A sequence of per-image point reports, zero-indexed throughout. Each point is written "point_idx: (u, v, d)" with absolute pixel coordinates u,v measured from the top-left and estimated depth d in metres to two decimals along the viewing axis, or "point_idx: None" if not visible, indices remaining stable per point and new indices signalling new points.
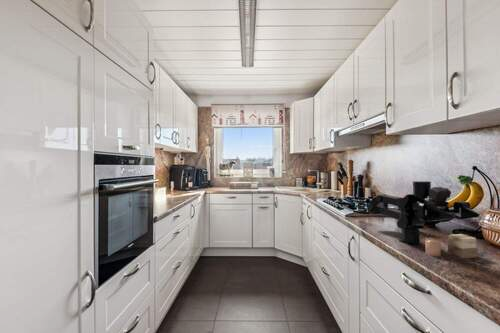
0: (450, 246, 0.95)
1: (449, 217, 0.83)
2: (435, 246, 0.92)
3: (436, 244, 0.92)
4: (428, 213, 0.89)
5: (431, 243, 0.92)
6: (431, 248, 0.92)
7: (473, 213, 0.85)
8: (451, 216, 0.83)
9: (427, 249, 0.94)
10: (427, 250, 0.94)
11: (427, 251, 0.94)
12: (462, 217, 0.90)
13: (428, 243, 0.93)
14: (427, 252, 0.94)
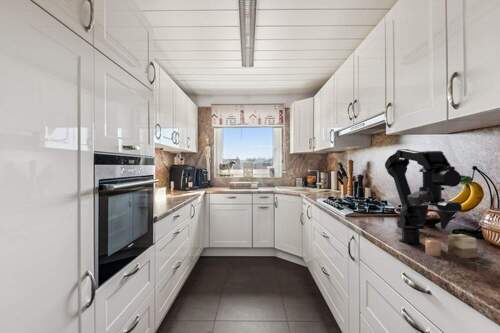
0: (450, 246, 0.95)
1: None
2: (435, 246, 0.92)
3: (436, 244, 0.92)
4: None
5: (431, 243, 0.92)
6: (431, 248, 0.92)
7: None
8: None
9: (427, 249, 0.94)
10: (427, 250, 0.94)
11: (427, 251, 0.94)
12: None
13: (428, 243, 0.93)
14: (427, 252, 0.94)
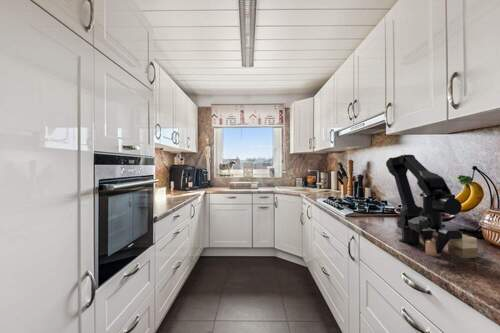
0: (450, 246, 0.94)
1: None
2: (435, 246, 0.92)
3: None
4: None
5: (431, 243, 0.92)
6: (431, 248, 0.93)
7: None
8: None
9: (427, 249, 0.94)
10: (427, 250, 0.94)
11: (427, 251, 0.94)
12: None
13: (428, 243, 0.93)
14: (427, 252, 0.94)
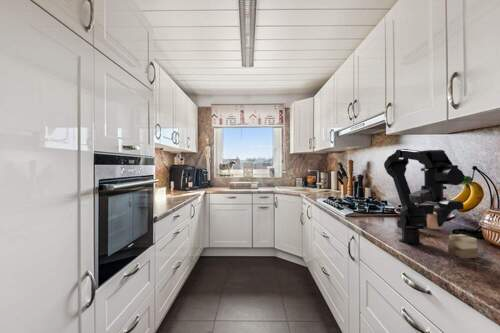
0: (450, 246, 0.94)
1: None
2: (436, 219, 0.92)
3: None
4: None
5: (432, 216, 0.92)
6: (432, 221, 0.92)
7: None
8: None
9: (428, 222, 0.94)
10: (428, 223, 0.94)
11: (428, 224, 0.94)
12: None
13: (429, 216, 0.93)
14: (428, 225, 0.94)
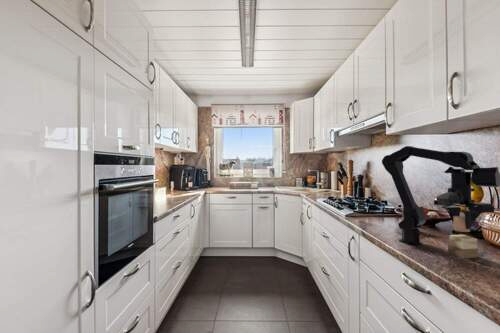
0: (450, 246, 0.94)
1: None
2: (464, 221, 0.91)
3: None
4: None
5: (460, 218, 0.91)
6: (460, 224, 0.92)
7: None
8: None
9: (456, 225, 0.93)
10: (456, 226, 0.93)
11: (456, 227, 0.93)
12: None
13: (457, 219, 0.92)
14: (456, 228, 0.93)
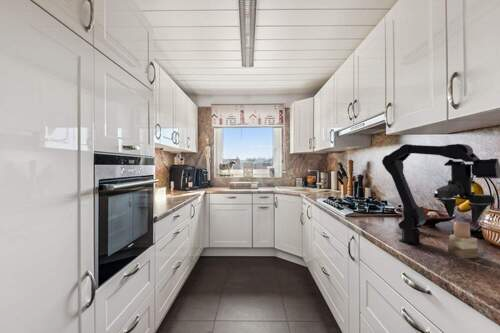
0: (450, 246, 0.94)
1: None
2: (465, 228, 0.91)
3: (466, 226, 0.91)
4: None
5: (460, 225, 0.91)
6: (460, 230, 0.91)
7: None
8: None
9: (456, 231, 0.93)
10: (456, 232, 0.93)
11: (456, 233, 0.93)
12: None
13: (457, 225, 0.92)
14: (456, 234, 0.93)
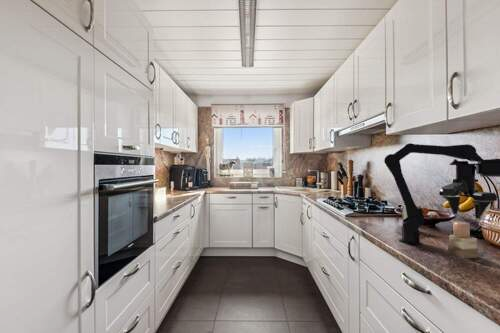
0: (450, 246, 0.94)
1: None
2: (464, 228, 0.91)
3: (465, 226, 0.91)
4: None
5: (460, 225, 0.91)
6: (460, 230, 0.91)
7: None
8: None
9: (455, 231, 0.93)
10: (455, 232, 0.93)
11: (455, 233, 0.93)
12: None
13: (457, 225, 0.92)
14: (455, 234, 0.93)
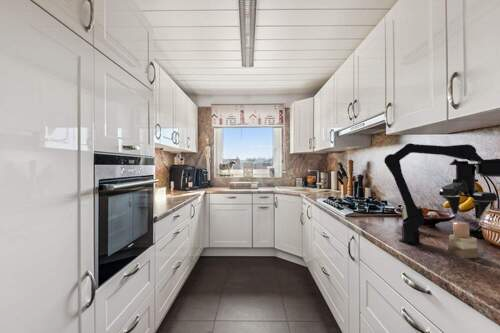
0: (451, 246, 0.94)
1: None
2: (464, 228, 0.91)
3: (465, 226, 0.91)
4: None
5: (459, 225, 0.91)
6: (459, 230, 0.91)
7: None
8: None
9: (455, 231, 0.93)
10: (455, 232, 0.93)
11: (455, 233, 0.93)
12: None
13: (456, 225, 0.92)
14: (455, 234, 0.93)
